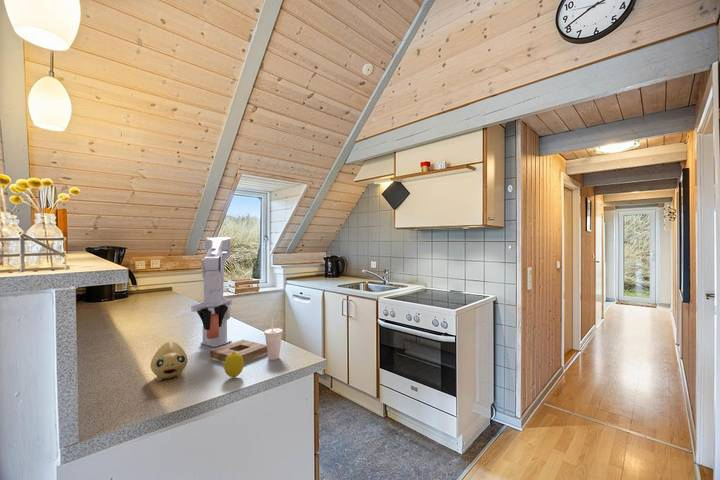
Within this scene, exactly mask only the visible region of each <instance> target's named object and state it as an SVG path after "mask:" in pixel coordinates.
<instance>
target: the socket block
mask: <svg viewBox="0 0 720 480" xmlns="http://www.w3.org/2000/svg"><path fill="white" fill-rule="evenodd" d="M232 352H236V353H239V354H240V355H241V356H242V358H243V362H244V364H246V363H249V362H251V361H253V360H254V361H255V360H256V359H259V358H261V357H263V356H266V355H268V352H267V345H266V344H262V343H259V342H255V341H251V340H247V339H241V340H237V341H234V342H230V343H227V344H224V345H220V346H217V347H214V348H212V349H210V350H209V359H210V360H212V361H216V362H219V363H223V364H224V362H225V359H226V357H227V356H228V355H229V354H231V353H232Z"/></svg>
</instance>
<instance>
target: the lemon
mask: <svg viewBox="0 0 720 480" xmlns="http://www.w3.org/2000/svg"><path fill="white" fill-rule="evenodd" d="M244 364H245V363H244V362H243V358H242V356H241V355H240V354H239V353H236V352H232V353H231V354H229V355H228V356H227V357H226V359H225V362H224V363H223V368H224V373H225V375H226V376H228V377H230V378H232V379H236V378H237V377H238V376H239V375H241V373H243V369H244V367H245V366H244Z"/></svg>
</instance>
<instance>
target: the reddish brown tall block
mask: <svg viewBox="0 0 720 480" xmlns="http://www.w3.org/2000/svg"><path fill="white" fill-rule="evenodd" d="M218 337H219V314H216V313H214V314H211V316H210V329H209V330H207V339H214V338H218Z"/></svg>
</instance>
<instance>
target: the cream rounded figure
mask: <svg viewBox="0 0 720 480" xmlns="http://www.w3.org/2000/svg"><path fill="white" fill-rule="evenodd" d="M188 360H189V359H188V356H187V353H186V351H185V350H184V349H183V347H181V345H180V344H178V343H176V342H175V341H167V342H164V344H162V345H161V346H160V347H159V348H158V349H157V351H156V352H155V353H154V355H153V357H152V358H151V361H150V366H149V367H150V369H151V372H152V373H153V374H154V375H155V376H156V380H157V381H162V380H163V379H170V378H173V377H177V378H181V377H182V373H183V371H184V370H185V369H186V367H187V365H188Z"/></svg>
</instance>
